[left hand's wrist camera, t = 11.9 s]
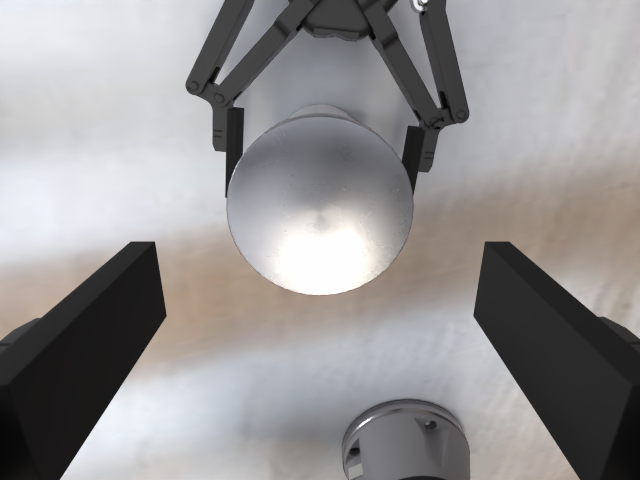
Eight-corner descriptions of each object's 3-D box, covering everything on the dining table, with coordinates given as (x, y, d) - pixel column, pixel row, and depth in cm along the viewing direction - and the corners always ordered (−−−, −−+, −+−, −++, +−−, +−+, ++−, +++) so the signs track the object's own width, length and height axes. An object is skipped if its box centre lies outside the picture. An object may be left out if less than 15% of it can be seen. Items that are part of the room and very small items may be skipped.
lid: (217, 253, 23) (208, 268, 21) (258, 87, 20) (251, 88, 18) (371, 296, 24) (375, 314, 22) (432, 145, 21) (443, 151, 19)
